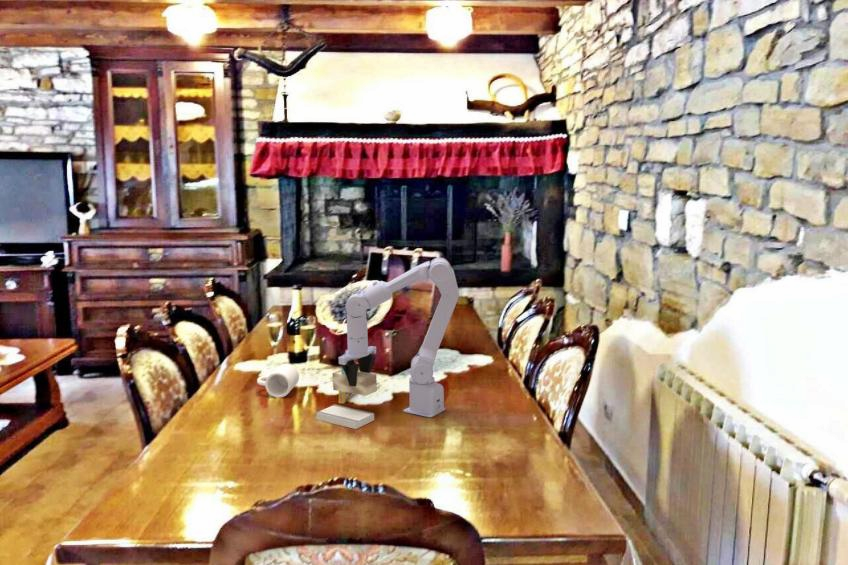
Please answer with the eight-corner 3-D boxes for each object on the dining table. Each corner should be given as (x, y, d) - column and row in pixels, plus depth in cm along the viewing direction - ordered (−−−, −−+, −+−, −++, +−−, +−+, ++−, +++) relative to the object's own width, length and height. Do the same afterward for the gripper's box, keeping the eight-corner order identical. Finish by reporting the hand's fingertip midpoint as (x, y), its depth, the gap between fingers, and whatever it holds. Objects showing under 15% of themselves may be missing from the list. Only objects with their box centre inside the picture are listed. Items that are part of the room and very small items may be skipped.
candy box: (345, 404, 211) (344, 377, 209) (338, 403, 211) (337, 377, 210) (359, 387, 226) (358, 362, 225) (353, 387, 227) (352, 362, 226)
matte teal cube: (356, 372, 204) (355, 362, 203) (349, 375, 201) (349, 365, 201) (348, 371, 205) (347, 361, 205) (341, 374, 203) (341, 364, 202)
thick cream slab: (377, 390, 203) (376, 373, 202) (366, 395, 198) (365, 378, 198) (344, 385, 209) (343, 368, 208) (333, 389, 205) (332, 373, 204)
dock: (374, 420, 197) (373, 413, 196) (355, 429, 190) (355, 421, 190) (335, 411, 204) (335, 404, 204) (316, 419, 198) (316, 412, 198)
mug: (299, 388, 226) (298, 363, 225) (291, 398, 217) (289, 372, 215) (263, 387, 228) (261, 363, 226) (252, 397, 218) (251, 372, 216)
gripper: (362, 330, 209) (363, 374, 211) (329, 340, 197) (331, 387, 199) (381, 332, 205) (382, 378, 207) (349, 343, 193) (350, 391, 195)
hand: (358, 383), depth 203 cm, fingers closed on thick cream slab, 5 cm apart
